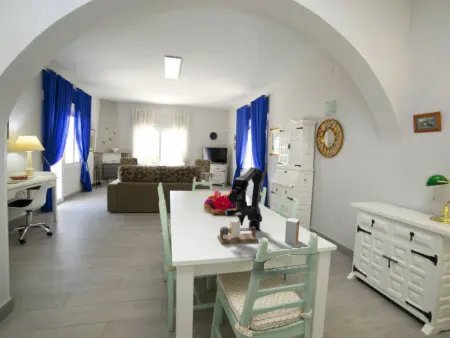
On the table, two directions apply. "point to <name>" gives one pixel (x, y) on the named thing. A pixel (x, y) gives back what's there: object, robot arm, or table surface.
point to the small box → (292, 231)
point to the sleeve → (235, 227)
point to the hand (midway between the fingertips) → (241, 225)
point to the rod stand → (237, 236)
